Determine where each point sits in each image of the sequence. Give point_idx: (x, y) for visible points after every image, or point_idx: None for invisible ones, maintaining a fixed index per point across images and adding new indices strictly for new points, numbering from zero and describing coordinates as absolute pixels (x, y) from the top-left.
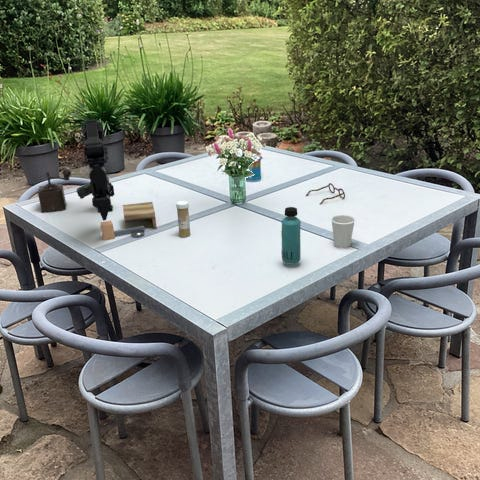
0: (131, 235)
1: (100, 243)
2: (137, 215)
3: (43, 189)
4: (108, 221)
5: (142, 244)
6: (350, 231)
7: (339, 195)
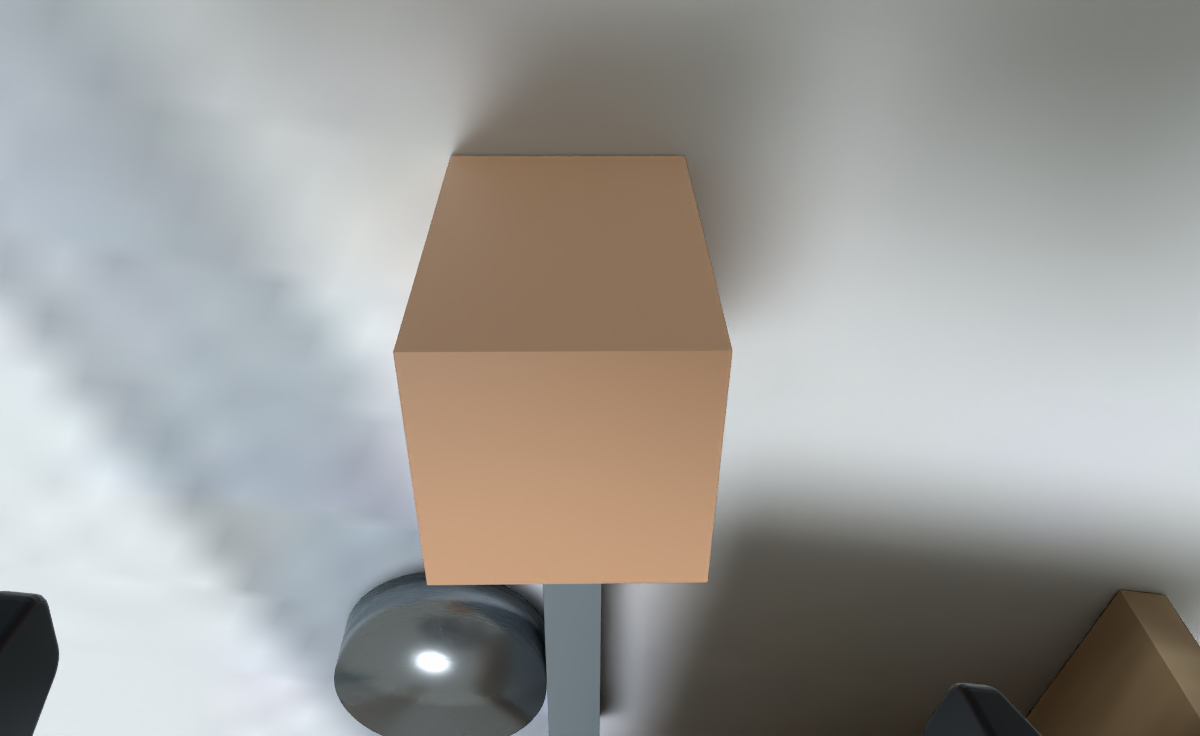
0: None
1: (306, 43)
2: None
3: None
4: (671, 532)
5: (56, 631)
6: None
7: None
